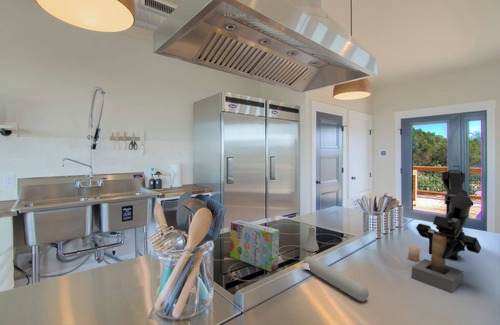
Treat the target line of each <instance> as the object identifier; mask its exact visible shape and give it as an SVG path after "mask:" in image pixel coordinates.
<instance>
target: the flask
mask: <svg viewBox="0 0 500 325" xmlns="http://www.w3.org/2000/svg"><path fill="white" fill-rule="evenodd" d="M307 229H308V235H307V238H306V241H305V243H304V246H303V248H302V250H303V251H306V252H309V253H310V252H311V253H316V252H315V251H317V252H319V251H320V247H319V244H318V242H317V238H316V233H315V232H316V227H314V226H313V227H312V226H309V227H308V228H307ZM318 250H319V251H318Z"/></svg>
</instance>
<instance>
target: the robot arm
mask: <svg viewBox="0 0 500 325" xmlns="http://www.w3.org/2000/svg"><path fill="white" fill-rule="evenodd" d="M440 178H441V180H440V181H441V182H442V187H443V189H445V191H446V194H444V202H443V203H444V205H446V207H445V217H443V216H439V215H435V216H434V219H433V222H432V225H434V226H435V228H436V230H435V229H433V228H431V225H428V224H425V223H418V224H417V225H416V227H415V230H416V231H417V233H418V234H419V235H420V237H422V238H426V239H428V240H429V241H428V254H429V255H432V240H433V234H434V233H438V234H443V235H446V236H447V241H446V251H445V252H444V254H443V257H442V258H443V259H445V260H446V259H450V260H452V261H453V260H454V261H458V260H459V259H461V256H462V255H459V253H460V252H465V251H466V250H467V251H468V252H471V253H475V254H480V252H481V249H482V246H481V244H480V242H479V240H478V237H474V236H470V235H467V234H465V232H464V228H463V227H464V226H465V223H466V221H467V220H468V218H469V213H470V209H471V208H472V206H474V202H473V200H472V199H471V197H470V196H469V194H468V192H467V191H466V190H465V189H463V188H464V187H463V184H464V183H465V182H466V173H465V172H463V171H462V170H457V169H456V170H455V169H449V170H447V171H443V172H441V177H440ZM465 248H466V249H465Z"/></svg>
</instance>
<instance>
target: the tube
mask: <svg viewBox="0 0 500 325" xmlns="http://www.w3.org/2000/svg"><path fill="white" fill-rule="evenodd" d="M303 263H308V264H309V268H310V271H311V272H310V271H309V272H310V273H312V274H314V275H315V276H317V277H318V278H320V279H322V280H324V281H326V282H327V283H328V284H330V285H332V286H334V287H335V288H337V289H338V290H341V291H342V292H344V293H346V294H347V295H349V296H350V297H352V298H354V299H355V300H357V301H358V302H365V301H366V300H367V299H368V298H369V296H370V293H369V290H368V288H367V287H366V286H365V285H364V284H362V283H359V282H358V281H356V280H354V279H352V278H351V277H349V276H347V275H345V274H343V273H341V272H339V271H337V270H335V269H333V268H332V267H330V266H328V265H326V264H324V263H323V262H320V261H319V260H317V259H315V258H313V257H312V256H310V255H309V256H308V255H307V256H306V257H305V258H304V260H303V262H302V264H303Z"/></svg>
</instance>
